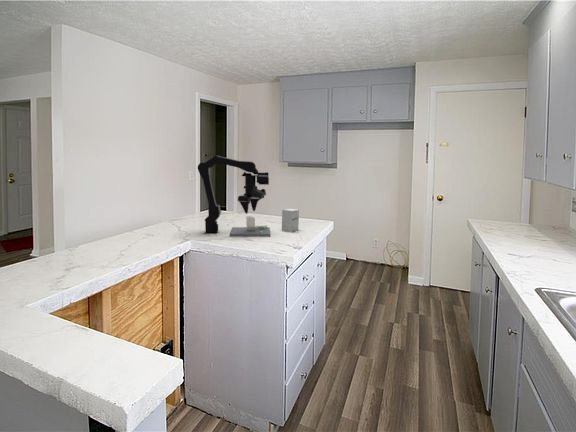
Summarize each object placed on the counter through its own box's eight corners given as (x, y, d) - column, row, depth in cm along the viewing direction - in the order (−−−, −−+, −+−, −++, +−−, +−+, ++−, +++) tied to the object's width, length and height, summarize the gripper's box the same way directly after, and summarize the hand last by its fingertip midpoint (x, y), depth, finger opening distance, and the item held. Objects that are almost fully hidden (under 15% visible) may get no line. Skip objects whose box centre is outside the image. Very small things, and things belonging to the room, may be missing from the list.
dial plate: (229, 236, 199) (229, 231, 199) (232, 229, 216) (232, 225, 215) (270, 236, 201) (270, 231, 200) (269, 229, 217) (269, 225, 217)
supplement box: (291, 232, 212) (291, 210, 209) (281, 230, 216) (281, 209, 214) (298, 230, 218) (299, 209, 215) (288, 228, 222) (289, 207, 220)
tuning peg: (248, 231, 204) (248, 218, 203) (245, 229, 210) (245, 216, 208) (269, 230, 209) (269, 217, 208) (265, 227, 215) (265, 215, 213)
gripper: (256, 186, 192) (256, 216, 195) (270, 183, 209) (270, 210, 212) (237, 185, 196) (237, 214, 199) (252, 182, 213) (252, 209, 216)
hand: (250, 212), depth 206 cm, fingers open, 9 cm apart
